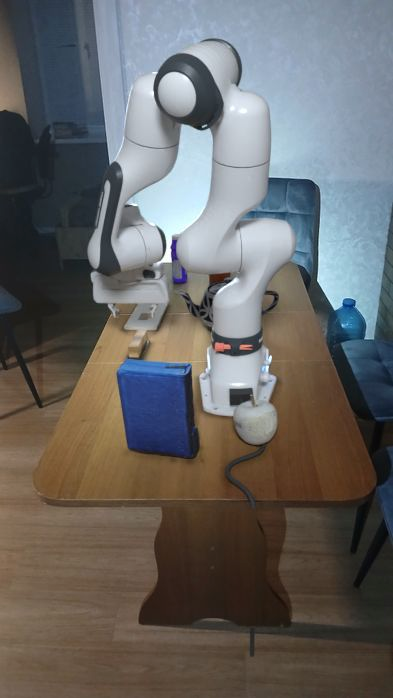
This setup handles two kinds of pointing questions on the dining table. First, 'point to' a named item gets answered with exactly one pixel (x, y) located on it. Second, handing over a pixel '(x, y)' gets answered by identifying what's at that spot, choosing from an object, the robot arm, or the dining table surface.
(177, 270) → the bottle
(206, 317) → the teapot
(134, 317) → the tile
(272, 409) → the decorative object
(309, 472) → the dining table surface
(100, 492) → the dining table surface
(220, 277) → the mug
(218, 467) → the dining table surface
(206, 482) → the dining table surface
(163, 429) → the book
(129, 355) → the brush
